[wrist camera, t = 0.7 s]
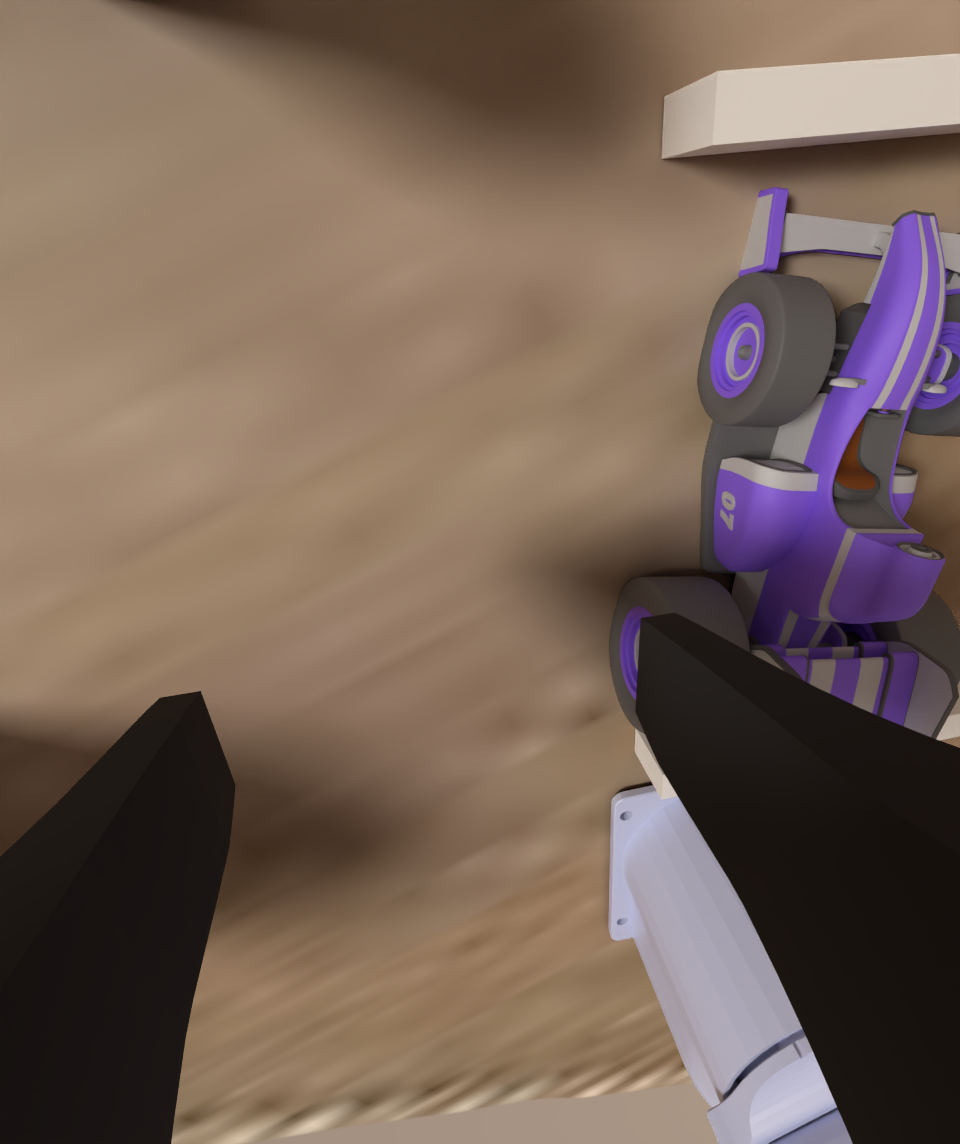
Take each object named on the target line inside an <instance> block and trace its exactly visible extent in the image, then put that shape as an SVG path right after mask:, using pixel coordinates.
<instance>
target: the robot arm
mask: <svg viewBox="0 0 960 1144" xmlns="http://www.w3.org/2000/svg"><path fill="white" fill-rule="evenodd" d="M635 712H636V714H637V717H638V719H639V722H640V724H641V726H642V729H643V731H644V733H645V736H646V738H647V740H648V742H649V745H650V747H651V749H652V751H653V753H654V755H655V758H656V760H657V762H658V764H659V766H660V767H661V769H662V771H663V772H664V774H665V776H666V778H667V779H668V781H669V783H670V784H671V786H672V788H673V789H674V791H675V792H676V794H677V796H676V797H672V798H667V799H662V800H661V798H660V796H659V795H658V793H657V791H656V789H655V787H654V786H653V785H651V786H647V787H642V788H637V789H632V790H628V791H623V792H620V793H618V794H617V795H615V796H614V798H613V799H612V802H611V839H610V884H609V929H608V930H609V933H610V935H611V938H612V939H613V940H617V941H619V940H624V939H629V938H634V941H635V943H636V946H637V948H638V951H639V953H640V956H641V958H642V961H643V963H644V966H645V968H646V971H647V973H648V976H649V978H650V981H651V983H652V986H653V988H654V991H655V993H656V996H657V998H658V1001H659V1003H660V1006H661V1008H662V1011H663V1013H664V1016H665V1018H666V1020H667V1023H668V1025H669V1028H670V1030H671V1033H672V1035H673V1038H674V1040H675V1043H676V1045H677V1048H678V1050H679V1053H680V1055H681V1058H682V1060H683V1063H684V1065H685V1068H686V1070H687V1072H688V1074H689V1076H690V1078H691V1080H692V1082H693V1083H694V1085H695V1087H696V1088H697V1090H698V1091H699V1092H700V1094H701V1095H702V1096H703V1098H704V1099H705V1100H706V1101H707V1103H708V1104H709V1105H710V1106H711V1107H712V1109H710V1110H708V1112H707V1116H708V1119H709V1121H710V1123H711V1126H712V1128H713V1131H714V1133H715V1136H716V1138H717V1141H718V1143H719V1144H960V748H958V747H956V746H953V745H950V744H947V743H945V742H942V741H939V740H937V739H934V738H932V737H929V736H927V735H924V734H922V733H919V732H917V731H914V730H912V729H909V728H907V727H904V726H902V725H899V724H897V723H894V722H892V721H889V720H887V719H884V718H882V717H880V716H877V715H875V714H873V713H871V712H868V711H866V710H864V709H861V708H859V707H857V706H855V705H853V704H851V703H849V702H846V701H844V700H842V699H840V698H838V697H836V696H834V695H832V694H830V693H827V692H825V691H823V690H821V689H819V688H817V687H815V686H813V685H811V684H809V683H807V682H805V681H803V680H801V679H799V678H797V677H795V676H793V675H791V674H789V673H787V672H785V671H783V670H782V669H780V668H778V667H776V666H774V665H772V664H770V663H768V662H766V661H765V660H763V659H761V658H759V657H757V656H755V655H754V654H752V653H750V652H748V651H746V650H744V649H743V648H741V647H739V646H737V645H735V644H733V643H732V642H730V641H728V640H726V639H724V638H723V637H721V636H719V635H717V634H715V633H714V632H712V631H710V630H708V629H706V628H704V627H702V626H701V625H699V624H697V623H695V622H693V621H691V620H689V619H687V618H685V617H683V616H681V615H679V614H677V613H669V614H663V615H657V616H651V617H645V618H641V621H640V638H639V655H638V672H637V689H636V706H635ZM234 795H235V783H234V780H233V777H232V775H231V772H230V769H229V767H228V764H227V761H226V758H225V756H224V753H223V750H222V748H221V745H220V742H219V740H218V737H217V734H216V731H215V729H214V726H213V723H212V721H211V718H210V715H209V713H208V710H207V707H206V704H205V702H204V699H203V696H202V694H201V691H199V692H193V693H187V694H181V695H175V696H169V697H163V698H159V699H158V700H157V701H156V702H155V703H154V704H153V705H152V706H151V707H150V708H149V709H148V710H147V711H146V712H145V713H144V714H143V715H142V716H141V717H140V718H139V719H138V720H137V721H136V722H135V723H134V724H133V725H132V726H131V727H130V728H129V729H128V730H127V731H126V732H125V734H124V735H123V736H122V737H121V738H120V739H119V740H118V741H117V742H116V743H115V744H114V745H113V746H112V747H111V748H110V749H109V750H108V751H107V752H106V753H105V754H104V756H103V757H102V758H101V759H100V760H99V761H98V762H97V763H96V764H95V765H94V766H93V767H92V768H91V769H90V770H89V771H88V772H87V773H86V774H85V775H84V776H83V777H82V778H81V779H80V780H79V781H78V782H77V783H76V784H75V785H74V786H73V787H72V788H71V789H70V790H69V791H68V792H67V793H66V794H65V796H64V797H63V798H62V799H61V800H60V801H59V802H58V803H57V804H56V805H55V806H53V807H52V808H51V809H50V810H49V811H48V812H47V813H46V814H45V815H44V816H43V817H42V818H41V819H40V820H39V821H38V822H37V823H36V824H35V825H34V826H32V827H31V828H30V829H29V830H28V831H27V832H26V833H25V834H24V835H23V836H22V837H21V838H20V839H19V840H18V841H17V842H16V843H15V844H14V845H12V846H11V847H10V848H9V849H8V850H7V851H6V852H5V853H4V854H3V855H2V856H1V857H0V1144H171V1139H172V1131H173V1123H174V1116H175V1109H176V1102H177V1095H178V1088H179V1081H180V1073H181V1066H182V1059H183V1052H184V1045H185V1039H186V1033H187V1028H188V1023H189V1018H190V1013H191V1008H192V1003H193V998H194V994H195V990H196V986H197V981H198V977H199V973H200V969H201V965H202V961H203V956H204V952H205V948H206V944H207V940H208V935H209V931H210V927H211V923H212V919H213V915H214V910H215V906H216V902H217V898H218V894H219V889H220V885H221V881H222V876H223V872H224V868H225V863H226V859H227V854H228V850H229V844H230V835H231V827H232V818H233V807H234Z"/></svg>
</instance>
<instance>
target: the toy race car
mask: <svg viewBox="0 0 960 1144" xmlns="http://www.w3.org/2000/svg"><path fill="white" fill-rule="evenodd" d="M787 198H788V189H784V188H777V187H774V188H770V189H766V190H763V191H760V193H759V196H758V200H757V204H756V208H755V212H754V216H753V220H752V224H751V228H750V232H749V236H748V240H747V244H746V248H745V252H744V256H743V260H742V264H741V268H740V272H739V278H738V279H737V280H735V281H734V282H733V283H732V284H731V285H730V286H729V287H728V288H727V289H726V290H725V291H724V293H723V294H722V295H721V297H720V298H719V300H718V301H717V303H716V305H715V307H714V309H713V312H712V315H711V318H710V321H709V324H708V328H707V332H706V336H705V340H704V344H703V349H702V353H701V357H700V362H699V368H698V380H697V382H698V390H699V395H700V399H701V402H702V405H703V407H704V409H705V411H706V413H707V414H708V415H709V417H710V418H711V419H712V420H713V422H712V426H711V430H710V434H709V438H708V442H707V446H706V450H705V455H704V460H703V467H702V480H701V531H700V562H701V567H702V569H703V570H704V571H705V572H707V573H712V574H736V576H735V580H734V585H733V590H732V595H730V593H729V592H728V591H727V590H726V589H725V588H724V587H723V586H722V585H721V584H720V583H718V582H717V581H715V580H713V579H710V578H707V577H638V578H635V579H633V580H631V581H629V582H628V583H627V584H626V585H625V587H624V588H623V589H622V591H621V593H620V596H619V599H618V602H617V605H616V608H615V612H614V616H613V621H612V626H611V631H610V640H609V654H610V666H611V673H612V678H613V683H614V687H615V691H616V694H617V697H618V700H619V703H620V705H621V708H622V710H623V712H624V714H625V715H626V717H627V718H628V720H629V721H630V723H631V724H632V725H633V726H634V727H635V728H636V729H637V730H638V731H640V732H642V733H644V731H643V729H642V726H641V724H640V722H639V719H638V717H637V714H636V712H635V706H636V689H637V672H638V655H639V638H640V621H641V618H645V617H651V616H657V615H663V614H669V613H677V614H679V615H681V616H683V617H685V618H687V619H689V620H691V621H693V622H695V623H697V624H699V625H701V626H702V627H704V628H706V629H708V630H710V631H712V632H714V633H715V634H717V635H719V636H721V637H723V638H724V639H726V640H728V641H730V642H732V643H733V644H735V645H737V646H739V647H741V648H743V649H744V650H746V651H748V652H750V653H752V654H754V655H755V656H757V657H759V658H761V659H763V660H765V661H766V662H768V663H770V664H772V665H774V666H776V667H778V668H780V669H782V670H783V671H785V672H787V673H789V674H791V675H793V676H795V677H797V678H799V679H801V680H803V681H805V682H807V683H809V684H811V685H813V686H815V687H817V688H819V689H821V690H823V691H825V692H827V693H830V694H832V695H834V696H836V697H838V698H840V699H842V700H844V701H846V702H849V703H851V704H853V705H855V706H857V707H859V708H861V709H864V710H866V711H868V712H871V713H873V714H875V715H877V716H880V717H882V718H884V719H887V720H889V721H892V722H894V723H897V724H899V725H902V726H904V727H907V728H909V729H912V730H914V731H917V732H919V733H922V734H924V735H927V736H929V737H932V738H934V739H936V738H937V736H938V735H939V733H940V731H941V729H942V727H943V726H944V724H945V722H946V720H947V718H948V716H949V715H950V713H951V711H952V709H953V707H954V705H955V704H956V702H957V700H958V698H959V692H958V684H959V681H960V630H959V628H958V625H957V622H956V620H955V618H954V616H953V614H952V612H951V611H950V609H949V608H948V606H947V605H946V603H945V602H944V601H943V600H942V599H941V598H940V596H939V595H937V594H936V593H935V592H934V591H933V590H932V588H933V586H934V584H935V582H936V580H937V578H938V576H939V574H940V572H941V570H942V567H943V565H944V563H945V561H946V560H945V557H944V555H943V554H942V553H941V552H939V551H937V550H935V549H933V548H931V547H928V546H925V545H922V544H921V542H922V540H923V538H924V534H922V533H921V532H918V531H916V530H914V529H913V528H912V527H910V526H909V525H908V524H907V523H905V522H904V521H903V520H902V519H903V518H904V516H905V515H906V513H907V512H908V510H909V508H910V506H911V503H912V500H913V497H914V492H915V487H916V482H917V478H918V471H917V470H915V469H913V468H910V467H906V466H903V465H899V464H896V462H897V457H898V453H899V449H900V445H901V441H902V437H903V434H904V430H906V431H909V432H911V433H915V434H920V435H935V436H956V437H960V233H957V234H952V233H944V232H939V229H938V223H937V218H936V215H935V213H924V212H919V211H915V210H913V211H910V212H907V213H904V214H902V215H901V216H900V217H899V218H898V219H897V220H896V221H895V222H894V223H893V224H892V226H888V225H881V224H872V223H864V222H856V221H848V220H840V219H832V218H824V217H816V216H808V215H800V214H792V213H787V209H786V203H787ZM800 252H822V253H831V254H840V255H849V256H858V257H867V258H876V259H882V260H881V262H880V265H879V267H878V270H877V272H876V275H875V277H874V279H873V282H872V284H871V286H870V288H869V291H868V293H867V295H866V297H865V300H864V303H857V304H854V305H852V306H850V307H848V308H846V309H844V310H842V311H841V313H840V315H839V317H838V319H837V321H836V319H835V312H834V307H833V304H832V301H831V298H830V296H829V294H828V293H827V291H826V290H825V288H824V287H823V286H822V285H821V284H820V283H818V282H817V281H815V280H813V279H811V278H807V277H802V276H793V275H783V274H773V273H770V272H773V271H775V270H776V269H777V266H778V262H779V257H782V256H786V255H791V254H795V253H800ZM819 390H820V391H823V392H826V393H820V394H817V393H818V392H819ZM644 734H645V733H644Z"/></svg>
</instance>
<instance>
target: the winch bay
mask: <svg viewBox="0 0 960 1144" xmlns="http://www.w3.org/2000/svg"><path fill="white" fill-rule="evenodd" d="M950 133H960V54H947V55H933V56H919V57H905V58H891V59H878V60H864V61H850V62H836V63H822V64H808V65H795V66H781V67H767V68H753V69H739V70H725V71H717V72H715V73H713V74H711V75H709V76H706V77H704V78H702V79H700V80H698V81H696V82H694V83H692V84H690V85H687V86H685V87H683V88H681V89H679V90H677V91H675V92H673V93H671V94H668V95H666V96H664V116H663V138H662V159H668V158H679V157H690V156H702V155H713V154H724V153H735V152H747V151H758V150H769V149H781V148H792V147H803V146H814V145H826V144H837V143H848V142H860V141H871V140H882V139H894V138H905V137H916V136H927V135H939V134H950ZM958 692H959V698H958V700H957V702H956V704H955V705H954V707H953V709H952V711H951V713H950V715H949V716H948V718H947V720H946V722H945V724H944V726H943V727H942V729H941V731H940V733H939V735H938V736H937V738H936V739H937V740H944V739H949V738H954V737H958V736H960V681H959V684H958ZM635 753H636V755H637V756H638V758H639V760H640V762H641V764H642V766H643V767H644V769H645V771H646V773H647V775H648V776H649V778H650V780H651V782H652V784H653V786H654V787H655V789H656V791H657V793H658V795H659V796H660V798H661V800H662V799H667V798H672V797H676V796H677V794H676V792H675V791H674V789H673V788H672V786H671V784H670V783H669V781H668V779H667V778H666V776H665V774H664V772H663V771H662V769H661V767H660V766H659V764H658V762H657V760H656V758H655V755H654V753H653V751H652V749H651V747H650V745H649V742H648V740H647V738H646V736H645V734H644V733H642V732H640V731H638V730H637V729H636V732H635Z"/></svg>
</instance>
